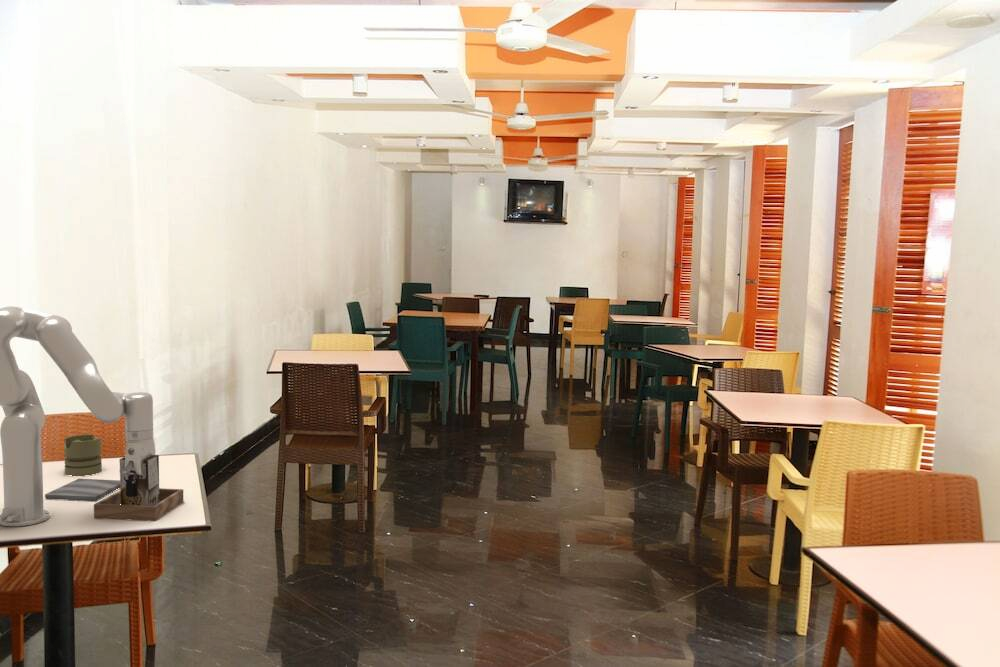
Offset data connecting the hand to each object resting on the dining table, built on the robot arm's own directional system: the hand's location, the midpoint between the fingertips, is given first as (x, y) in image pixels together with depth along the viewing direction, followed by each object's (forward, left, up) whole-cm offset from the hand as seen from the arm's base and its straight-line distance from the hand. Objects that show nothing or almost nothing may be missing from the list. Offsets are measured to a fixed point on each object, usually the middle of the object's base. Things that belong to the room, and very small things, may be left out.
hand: (140, 491), depth 238 cm
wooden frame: (0, 0, -6) cm, 6 cm away
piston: (+37, +39, -6) cm, 54 cm away
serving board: (+15, +25, -6) cm, 30 cm away
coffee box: (0, 0, -6) cm, 6 cm away
